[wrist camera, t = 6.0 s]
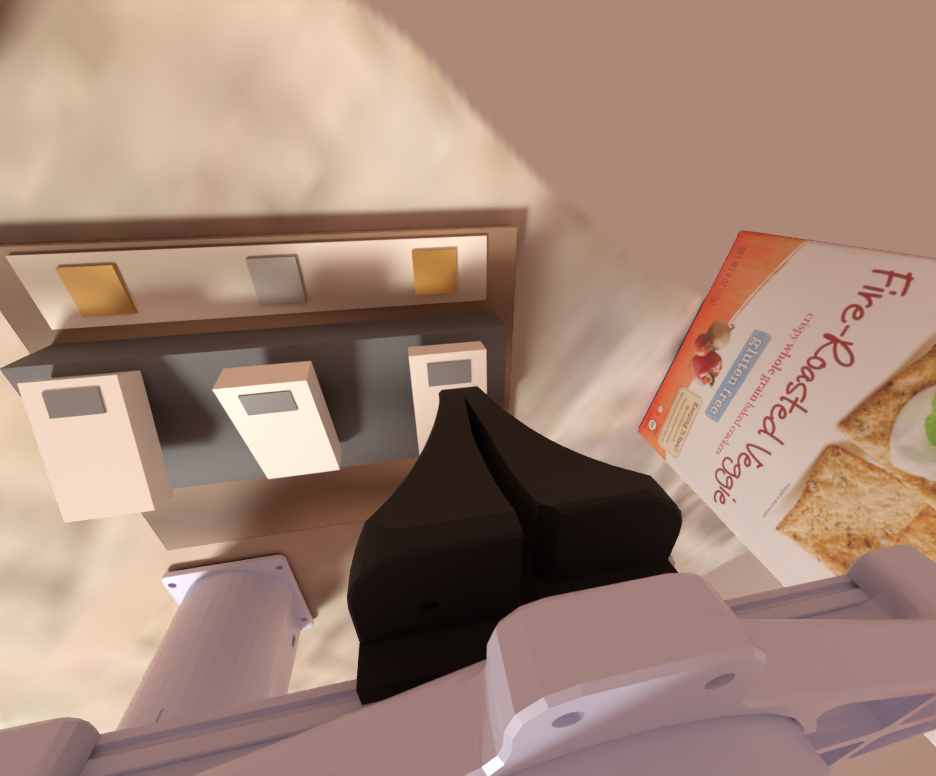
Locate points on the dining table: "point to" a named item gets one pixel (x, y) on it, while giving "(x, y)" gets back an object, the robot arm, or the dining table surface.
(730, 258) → the cracker box
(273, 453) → the block
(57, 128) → the dining table surface
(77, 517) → the rocker
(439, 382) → the block
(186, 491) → the switch board
